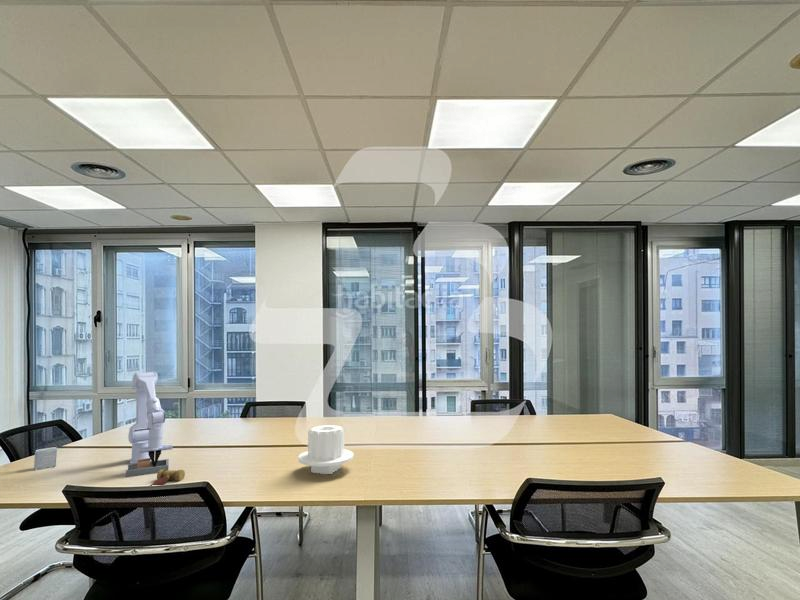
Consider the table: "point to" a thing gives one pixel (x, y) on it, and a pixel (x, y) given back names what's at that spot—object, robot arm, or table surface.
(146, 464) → the cube
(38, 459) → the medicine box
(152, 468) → the grey u-shaped frame
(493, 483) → the table surface
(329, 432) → the ribbed cylinder on disc
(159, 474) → the gavel
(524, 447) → the table surface
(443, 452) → the table surface
